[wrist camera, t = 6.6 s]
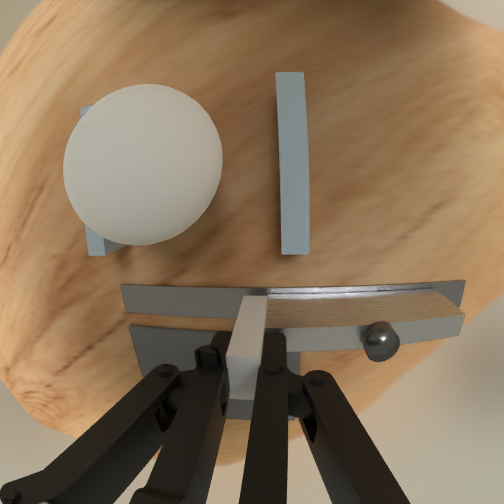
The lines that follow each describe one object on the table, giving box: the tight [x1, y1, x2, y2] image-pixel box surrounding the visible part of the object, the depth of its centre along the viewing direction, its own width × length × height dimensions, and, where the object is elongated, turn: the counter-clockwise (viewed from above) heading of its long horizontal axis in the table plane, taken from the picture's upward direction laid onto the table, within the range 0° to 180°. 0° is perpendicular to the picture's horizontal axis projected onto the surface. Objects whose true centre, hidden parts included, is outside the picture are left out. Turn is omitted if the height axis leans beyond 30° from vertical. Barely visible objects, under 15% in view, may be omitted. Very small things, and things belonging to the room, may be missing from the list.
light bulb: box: [63, 84, 223, 246], centre depth 12 cm, size 7×7×11 cm
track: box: [121, 280, 466, 318], centre depth 19 cm, size 2×28×1 cm, turn 92°
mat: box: [129, 324, 300, 420], centre depth 22 cm, size 10×14×1 cm
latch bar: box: [265, 288, 465, 362], centre depth 16 cm, size 2×13×6 cm, turn 92°
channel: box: [80, 72, 310, 256], centre depth 16 cm, size 10×14×4 cm
